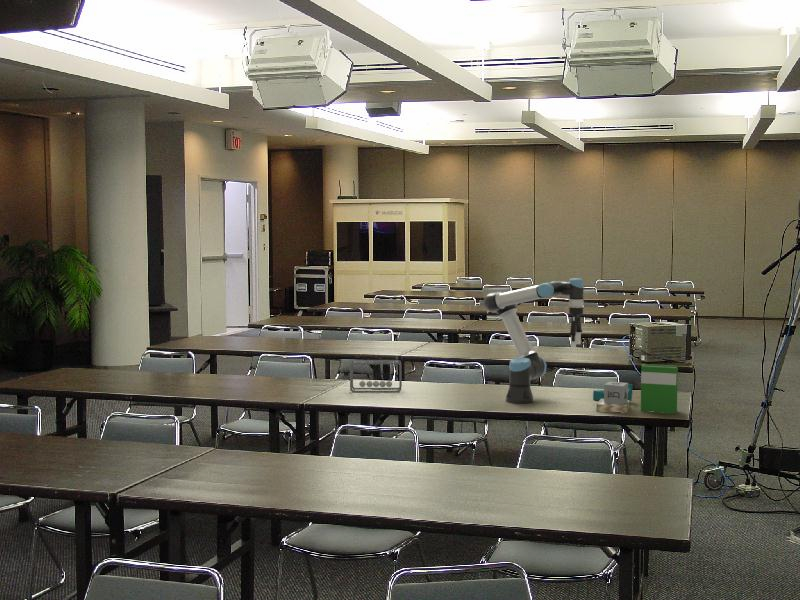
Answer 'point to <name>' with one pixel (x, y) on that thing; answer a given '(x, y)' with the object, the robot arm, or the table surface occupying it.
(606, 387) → the icon cube
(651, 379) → the green cereal box
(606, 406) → the plinth
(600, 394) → the teal tape dispenser
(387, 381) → the newton's cradle
